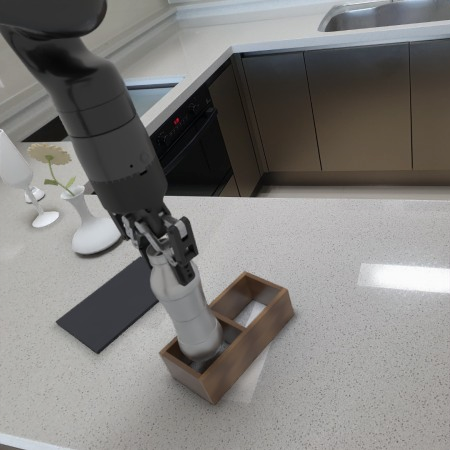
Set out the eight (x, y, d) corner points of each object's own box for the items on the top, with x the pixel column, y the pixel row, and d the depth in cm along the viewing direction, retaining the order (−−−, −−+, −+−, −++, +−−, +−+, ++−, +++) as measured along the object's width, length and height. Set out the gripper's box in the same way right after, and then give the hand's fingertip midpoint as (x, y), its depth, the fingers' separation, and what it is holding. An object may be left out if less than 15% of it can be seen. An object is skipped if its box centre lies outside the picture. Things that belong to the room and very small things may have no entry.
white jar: (45, 191, 130) (26, 197, 128) (39, 182, 128) (21, 188, 127) (45, 199, 126) (26, 205, 125) (39, 190, 124) (20, 196, 123)
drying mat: (97, 354, 78) (96, 352, 77) (56, 323, 85) (55, 321, 85) (184, 279, 89) (183, 276, 89) (141, 258, 97) (140, 255, 97)
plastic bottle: (176, 363, 67) (123, 262, 56) (198, 328, 72) (153, 228, 61) (215, 371, 65) (167, 267, 53) (234, 333, 70) (195, 231, 58)
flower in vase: (136, 230, 106) (87, 132, 91) (99, 263, 98) (39, 161, 83) (97, 222, 112) (45, 128, 97) (60, 252, 104) (-2, 155, 89)
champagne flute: (58, 221, 115) (5, 134, 101) (31, 230, 114) (-27, 144, 99) (59, 208, 120) (9, 124, 106) (33, 217, 119) (-22, 133, 105)
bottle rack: (214, 405, 66) (201, 381, 62) (171, 376, 71) (158, 352, 68) (294, 314, 77) (287, 289, 74) (252, 294, 83) (244, 270, 79)
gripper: (56, 165, 52) (116, 274, 61) (131, 192, 43) (187, 312, 53) (111, 135, 56) (159, 241, 66) (189, 155, 48) (230, 272, 58)
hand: (171, 273), depth 60 cm, fingers closed on plastic bottle, 6 cm apart
